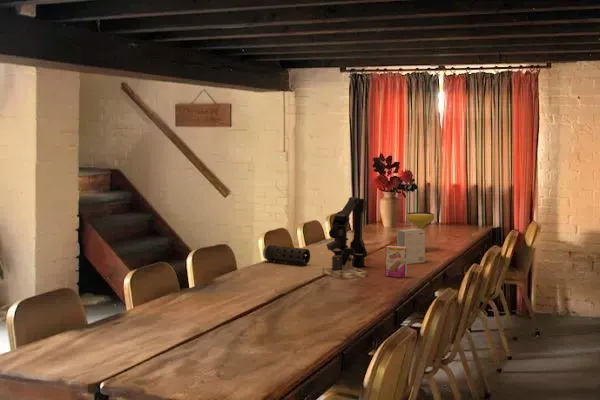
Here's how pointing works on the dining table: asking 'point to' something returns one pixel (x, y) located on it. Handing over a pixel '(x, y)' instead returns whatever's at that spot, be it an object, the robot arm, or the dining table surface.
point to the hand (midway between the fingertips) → (341, 264)
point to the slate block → (348, 271)
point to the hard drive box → (412, 244)
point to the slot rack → (347, 275)
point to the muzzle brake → (286, 255)
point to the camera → (341, 263)
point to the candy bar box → (396, 261)
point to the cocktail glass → (420, 219)
